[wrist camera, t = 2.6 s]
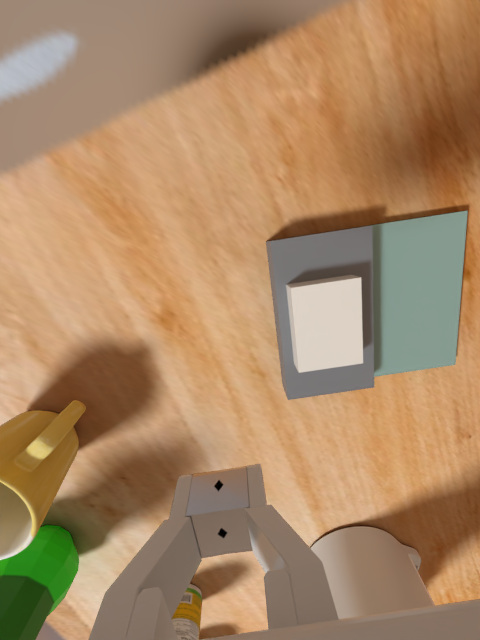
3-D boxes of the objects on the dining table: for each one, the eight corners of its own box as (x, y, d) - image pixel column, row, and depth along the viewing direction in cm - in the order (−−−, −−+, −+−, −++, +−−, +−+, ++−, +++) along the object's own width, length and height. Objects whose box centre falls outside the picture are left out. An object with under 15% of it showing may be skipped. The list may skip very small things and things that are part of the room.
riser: (360, 373, 31) (374, 387, 28) (282, 385, 31) (288, 399, 28) (357, 227, 27) (372, 225, 24) (266, 241, 27) (270, 241, 24)
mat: (448, 360, 31) (455, 364, 30) (360, 373, 31) (365, 377, 30) (459, 211, 26) (467, 210, 25) (357, 227, 27) (361, 226, 26)
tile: (353, 354, 27) (363, 363, 25) (294, 363, 27) (298, 372, 25) (351, 274, 25) (361, 277, 23) (286, 284, 25) (290, 288, 23)
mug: (48, 480, 34) (-29, 581, 24) (-14, 421, 31) (-131, 506, 21) (137, 429, 32) (94, 514, 22) (79, 362, 30) (0, 424, 19)
